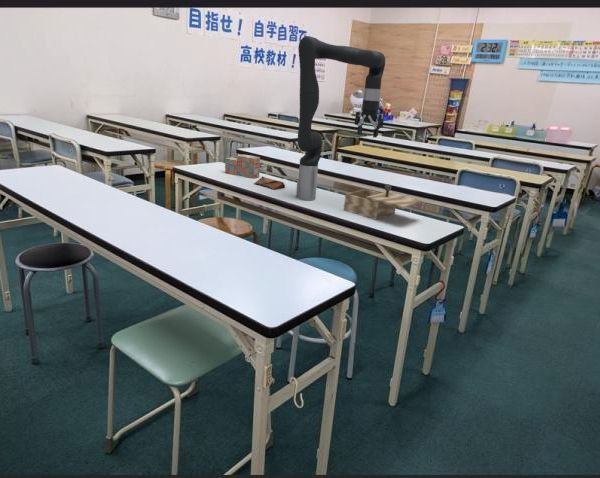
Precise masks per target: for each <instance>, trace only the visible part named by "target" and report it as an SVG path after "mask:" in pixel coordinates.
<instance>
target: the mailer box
mask: <svg viewBox="0 0 600 478" xmlns="http://www.w3.org/2000/svg"><path fill="white" fill-rule="evenodd" d="M380 193H381V192H378V191H374V190H370V189H365V188H364V189H359V190H357V191H351V192H347V193H345V196H344V205H343V211H344V212H348V213H352V214H355V215H358V216H362V217H365V218H368V219H372V220H374V221H376V220H379V219H383V218H385V217H388V216H392V215H395V214H396V208H397V207H394V206H391V205H387V204H383V203H379V202H376V201H372V200H368V199H366V198H367V197H368V196H372V195H376V194H380Z"/></svg>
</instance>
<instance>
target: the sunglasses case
mask: <svg viewBox="0 0 600 478" xmlns="http://www.w3.org/2000/svg"><path fill="white" fill-rule="evenodd" d="M253 185H255V186H260V187H263V188H266V189H270V190H272V191H277V190H282V189H285V187H286V186H285V183H284V182H283V181H281V180H275V179H272V178H269V177H265V176H261V177H259V178H258V180H256V181H255V182H253Z"/></svg>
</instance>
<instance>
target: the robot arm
mask: <svg viewBox="0 0 600 478" xmlns="http://www.w3.org/2000/svg"><path fill="white" fill-rule="evenodd" d="M298 59H299V116H298V117H299V121H298V132H297V146H298V148H299V150H300V151H302V152H305V153H304V155H303V156H302V157H301V158H299V169H298V171H299V172H298V178H296V180H297V181H296V192H295V193H296V194H295V196H296V198H298V199H299V200H302V201H314V200H316V199H317V198H316V196H317V184H318V172H319V171H318V170H319V161H321V160H320V159H321V155H322V154H321V153H322V146H323V138H322V136H321V134H320V133H319V132H317V131H312V123H313V119H314V116H315V114H316V112H317V110H318V107H319V104H320V87H319V83H318V78H317V74H316V59H317V60H319V59H322V60H333V61H336V62H340V63H344V64H347V65H348V64H349V65H352V66H353V65H354V66H361V67H365V68H369V69H368V73H367V75H366V76H365V77H366V78H365V83H364V90H363V96H362V105H361V110H362V111H359V110H358V111H356V112H355V118H354V122H353V123H354V125H356V126H357V131H356V132H357V136H361V135H363V126H364V125H365V124H366V123H368V124H371V125H372V126H373V133H372V138H377V137H378V135H379V130H380V129H383V128H384V116H385V115H384V114H383V113H380V114H379V110H380V102H381V101H380V100H381V87H382V78H383V75H384V72H385V67H386V57H385V55H384V54H383V53H382V52H381V51H378V50H370V49H362V48H359V47H356V46H355V47H353V46H347V45H335V44H330V43H327V42H325V41H322V40H320V39H318V38H317V37H313V36H310V35H306V36H304V37H302V38H301V39H300V41H299V43H298Z"/></svg>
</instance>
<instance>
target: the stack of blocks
mask: <svg viewBox="0 0 600 478" xmlns="http://www.w3.org/2000/svg"><path fill="white" fill-rule="evenodd" d="M260 161H261V157H260V156H255V155H250V154H249V155H248V154H243V153H242V154H239V155H237V156H236V157H232V156H231V157H227V158H226V157H225V158H224V169H225V170H224V173H225V174H226V175H232V176H236V177H243V178H246V179H247V178H248V179H253V180H254V179H259V178H260V166H261V162H260Z"/></svg>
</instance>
